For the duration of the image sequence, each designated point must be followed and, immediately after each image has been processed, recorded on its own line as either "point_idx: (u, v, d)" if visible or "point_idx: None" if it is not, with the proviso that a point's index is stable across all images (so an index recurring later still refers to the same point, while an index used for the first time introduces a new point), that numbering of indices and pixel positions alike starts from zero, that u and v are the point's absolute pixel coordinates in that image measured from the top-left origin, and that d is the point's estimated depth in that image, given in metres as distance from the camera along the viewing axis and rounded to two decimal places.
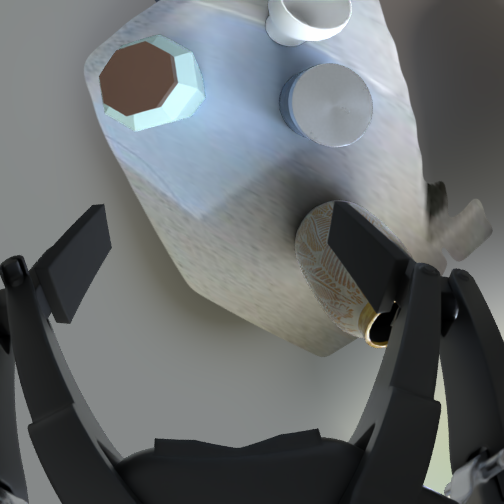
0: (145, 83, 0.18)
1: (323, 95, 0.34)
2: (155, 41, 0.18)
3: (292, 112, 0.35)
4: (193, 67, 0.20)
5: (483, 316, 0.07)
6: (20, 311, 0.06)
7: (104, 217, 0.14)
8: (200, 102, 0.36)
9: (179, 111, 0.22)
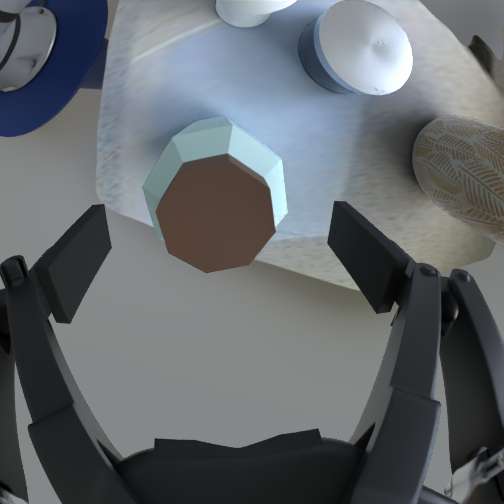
0: (236, 218, 0.15)
1: (354, 44, 0.23)
2: (181, 152, 0.15)
3: (345, 83, 0.26)
4: (253, 140, 0.16)
5: (483, 316, 0.07)
6: (20, 311, 0.06)
7: (104, 217, 0.14)
8: None
9: (284, 198, 0.19)
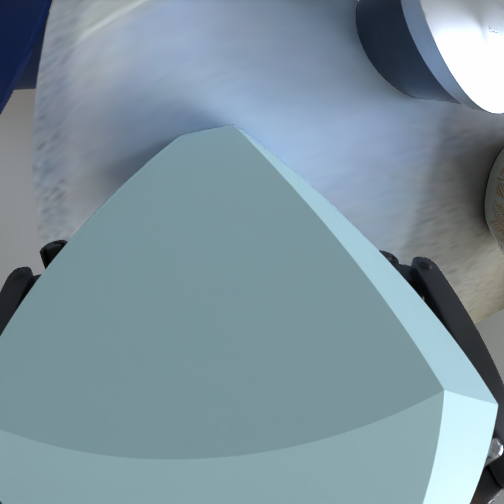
0: None
1: (465, 23, 0.08)
2: None
3: (456, 85, 0.11)
4: (479, 410, 0.02)
5: (452, 304, 0.07)
6: None
7: None
8: None
9: None
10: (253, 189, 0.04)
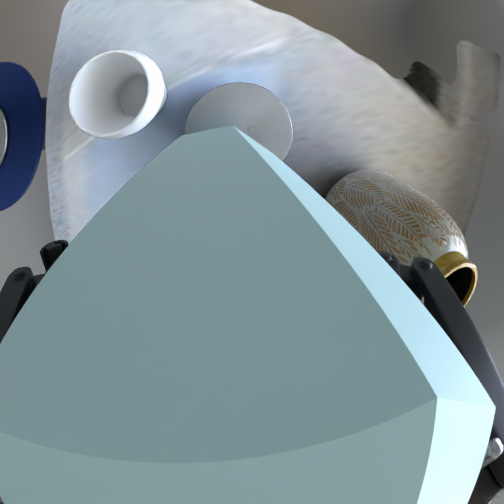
0: None
1: None
2: None
3: None
4: (475, 414, 0.02)
5: (452, 304, 0.07)
6: None
7: None
8: None
9: None
10: (252, 193, 0.04)
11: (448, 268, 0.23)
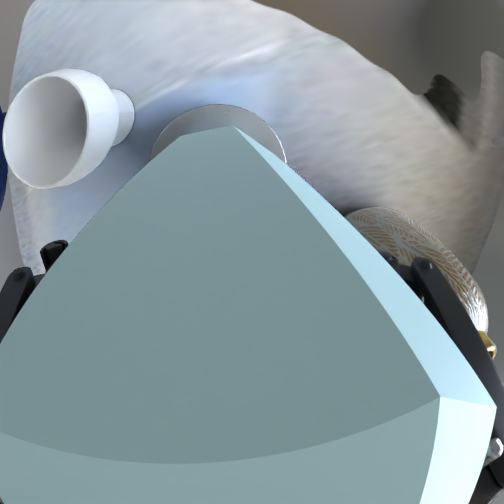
0: None
1: None
2: None
3: None
4: (476, 413, 0.02)
5: (452, 304, 0.07)
6: None
7: None
8: None
9: None
10: (253, 192, 0.04)
11: None
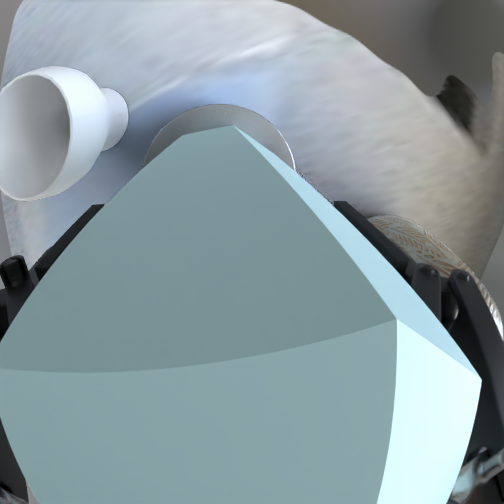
0: None
1: None
2: None
3: None
4: (452, 369, 0.02)
5: (483, 316, 0.07)
6: None
7: None
8: None
9: None
10: (250, 180, 0.05)
11: None
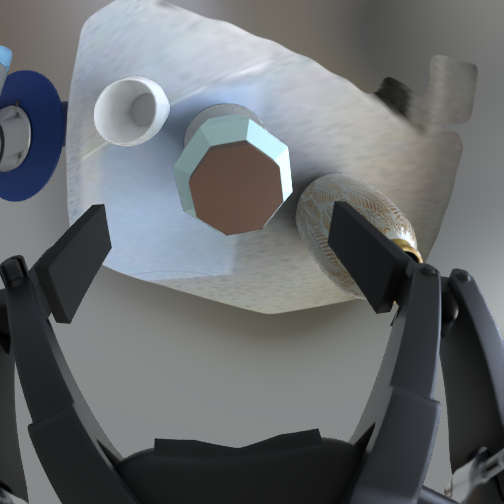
0: (253, 189, 0.19)
1: None
2: (208, 138, 0.19)
3: None
4: (265, 131, 0.20)
5: (483, 316, 0.07)
6: (20, 311, 0.06)
7: (104, 217, 0.14)
8: None
9: (290, 179, 0.22)
10: (238, 118, 0.23)
11: None
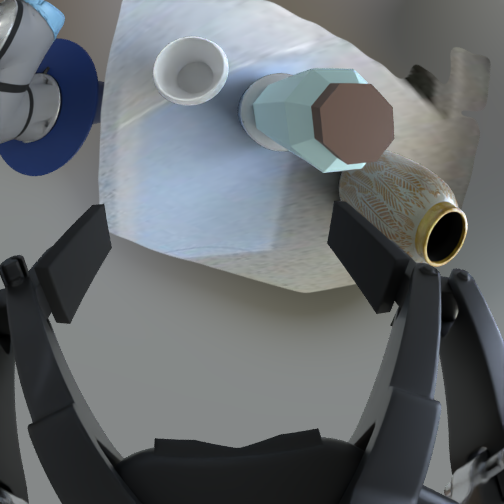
0: (372, 123, 0.18)
1: None
2: (324, 77, 0.18)
3: (262, 145, 0.42)
4: (366, 82, 0.19)
5: (483, 316, 0.07)
6: (20, 311, 0.06)
7: (104, 217, 0.14)
8: None
9: None
10: None
11: (443, 210, 0.31)
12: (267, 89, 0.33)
